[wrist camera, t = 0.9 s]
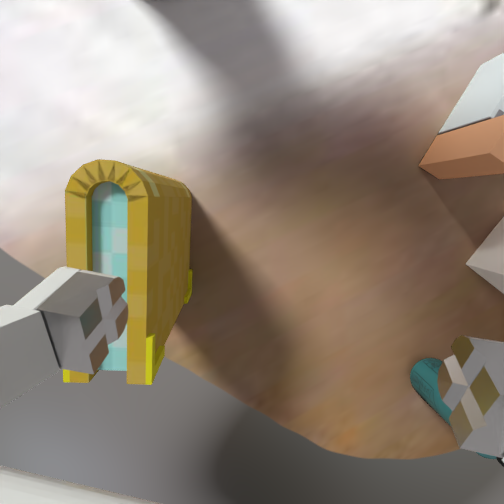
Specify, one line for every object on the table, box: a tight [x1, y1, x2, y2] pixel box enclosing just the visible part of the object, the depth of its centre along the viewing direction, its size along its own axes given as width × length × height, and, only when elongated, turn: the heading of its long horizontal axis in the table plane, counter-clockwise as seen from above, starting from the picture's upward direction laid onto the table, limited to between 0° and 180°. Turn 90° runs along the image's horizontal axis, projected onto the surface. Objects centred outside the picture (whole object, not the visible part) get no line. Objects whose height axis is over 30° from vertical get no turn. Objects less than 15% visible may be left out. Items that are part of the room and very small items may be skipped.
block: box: [418, 115, 504, 179], centre depth 42 cm, size 5×4×14 cm
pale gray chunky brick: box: [438, 53, 504, 135], centre depth 43 cm, size 11×4×10 cm, turn 150°
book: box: [63, 160, 193, 385], centre depth 37 cm, size 17×7×25 cm, turn 176°
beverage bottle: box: [410, 358, 504, 466], centre depth 45 cm, size 6×7×20 cm
